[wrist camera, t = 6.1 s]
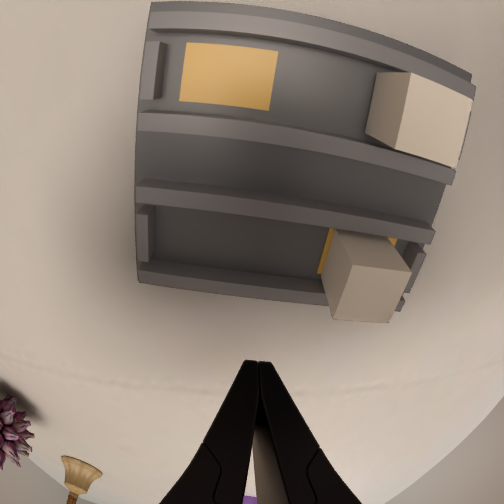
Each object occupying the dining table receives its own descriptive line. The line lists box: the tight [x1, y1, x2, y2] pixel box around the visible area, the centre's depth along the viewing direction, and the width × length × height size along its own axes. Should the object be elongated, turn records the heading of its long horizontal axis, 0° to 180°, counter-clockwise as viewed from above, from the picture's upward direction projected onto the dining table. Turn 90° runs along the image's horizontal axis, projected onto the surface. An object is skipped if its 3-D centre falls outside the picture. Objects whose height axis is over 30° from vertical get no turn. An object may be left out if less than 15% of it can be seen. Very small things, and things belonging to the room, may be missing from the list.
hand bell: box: [61, 456, 102, 504], centre depth 35 cm, size 8×8×16 cm
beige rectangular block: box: [365, 72, 472, 168], centre depth 11 cm, size 3×3×4 cm
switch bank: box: [135, 1, 476, 312], centre depth 15 cm, size 16×15×3 cm
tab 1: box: [321, 228, 412, 323], centre depth 15 cm, size 3×3×4 cm
